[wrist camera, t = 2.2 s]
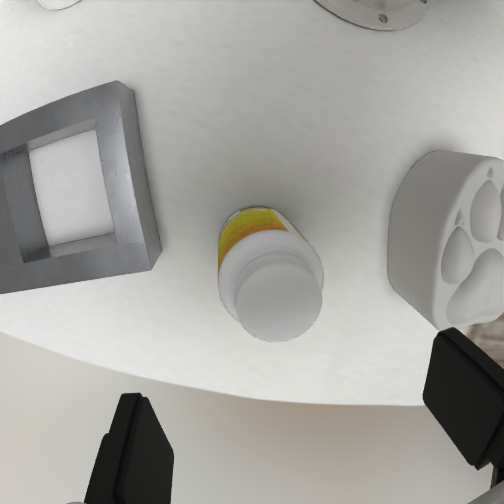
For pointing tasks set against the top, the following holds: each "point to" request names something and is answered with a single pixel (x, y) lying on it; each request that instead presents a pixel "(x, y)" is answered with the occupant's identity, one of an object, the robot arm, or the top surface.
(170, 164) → the top surface
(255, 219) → the supplement bottle
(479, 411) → the robot arm
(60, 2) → the beer glass
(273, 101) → the top surface
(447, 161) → the lumpy-topped squat cylinder
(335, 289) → the top surface
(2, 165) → the cinder block
